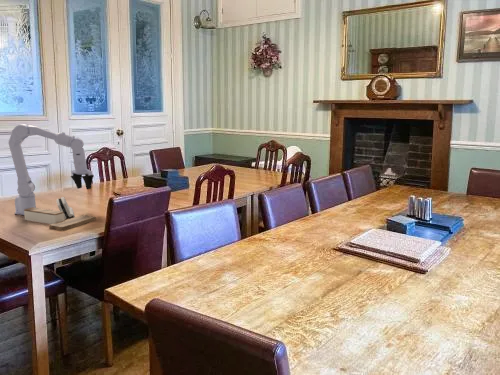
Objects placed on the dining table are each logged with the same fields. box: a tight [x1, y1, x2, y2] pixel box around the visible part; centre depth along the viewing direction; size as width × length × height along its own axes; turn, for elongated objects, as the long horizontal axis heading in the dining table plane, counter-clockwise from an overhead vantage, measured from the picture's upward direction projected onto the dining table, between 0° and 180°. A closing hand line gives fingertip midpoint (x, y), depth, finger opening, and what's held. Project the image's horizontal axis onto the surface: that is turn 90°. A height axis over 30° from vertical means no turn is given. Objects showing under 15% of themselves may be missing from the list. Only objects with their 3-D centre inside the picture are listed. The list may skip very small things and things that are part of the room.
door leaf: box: [48, 214, 96, 231], centre depth 214 cm, size 8×20×2 cm, turn 155°
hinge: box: [55, 196, 76, 220], centre depth 230 cm, size 17×5×10 cm, turn 23°
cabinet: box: [23, 207, 65, 225], centre depth 218 cm, size 20×5×5 cm, turn 65°
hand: (84, 188), depth 237 cm, fingers open, 7 cm apart
